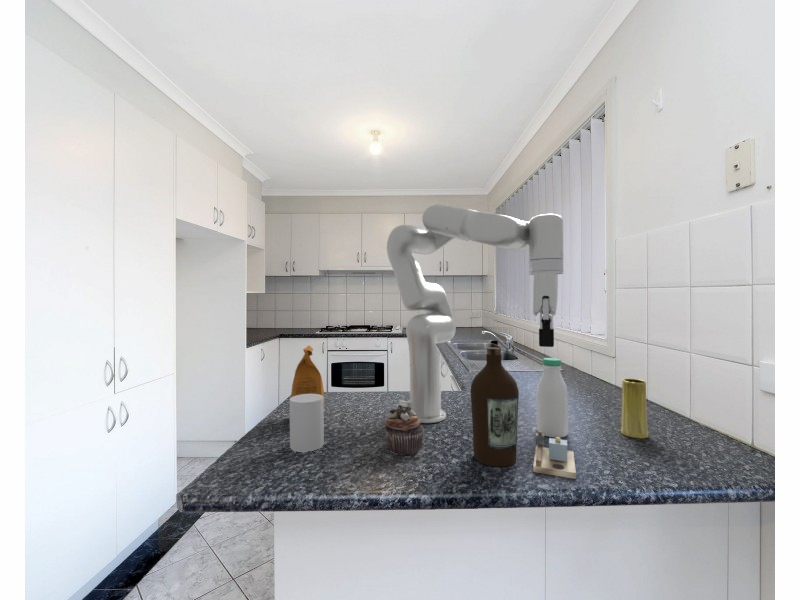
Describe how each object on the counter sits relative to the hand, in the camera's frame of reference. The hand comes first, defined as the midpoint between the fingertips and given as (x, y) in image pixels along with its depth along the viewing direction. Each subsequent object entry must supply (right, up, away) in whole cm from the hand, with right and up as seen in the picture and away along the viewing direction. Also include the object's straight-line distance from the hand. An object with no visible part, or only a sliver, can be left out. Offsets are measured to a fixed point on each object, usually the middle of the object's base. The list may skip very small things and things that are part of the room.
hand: (546, 345), depth 85 cm
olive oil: (-13, -25, -3) cm, 29 cm away
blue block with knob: (0, -24, -7) cm, 25 cm away
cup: (-58, -26, +4) cm, 63 cm away
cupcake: (-34, -26, +2) cm, 42 cm away
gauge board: (-1, -25, -7) cm, 26 cm away
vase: (+27, -25, +10) cm, 39 cm away
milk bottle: (+6, -25, +12) cm, 29 cm away
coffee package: (-63, -26, +24) cm, 72 cm away
